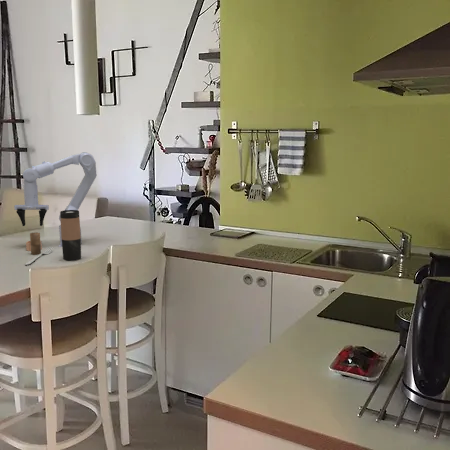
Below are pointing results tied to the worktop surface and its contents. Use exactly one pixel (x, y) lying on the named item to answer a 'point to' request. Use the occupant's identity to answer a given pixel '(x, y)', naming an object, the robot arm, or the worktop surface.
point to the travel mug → (70, 235)
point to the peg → (35, 243)
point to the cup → (28, 245)
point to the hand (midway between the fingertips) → (32, 225)
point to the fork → (38, 256)
